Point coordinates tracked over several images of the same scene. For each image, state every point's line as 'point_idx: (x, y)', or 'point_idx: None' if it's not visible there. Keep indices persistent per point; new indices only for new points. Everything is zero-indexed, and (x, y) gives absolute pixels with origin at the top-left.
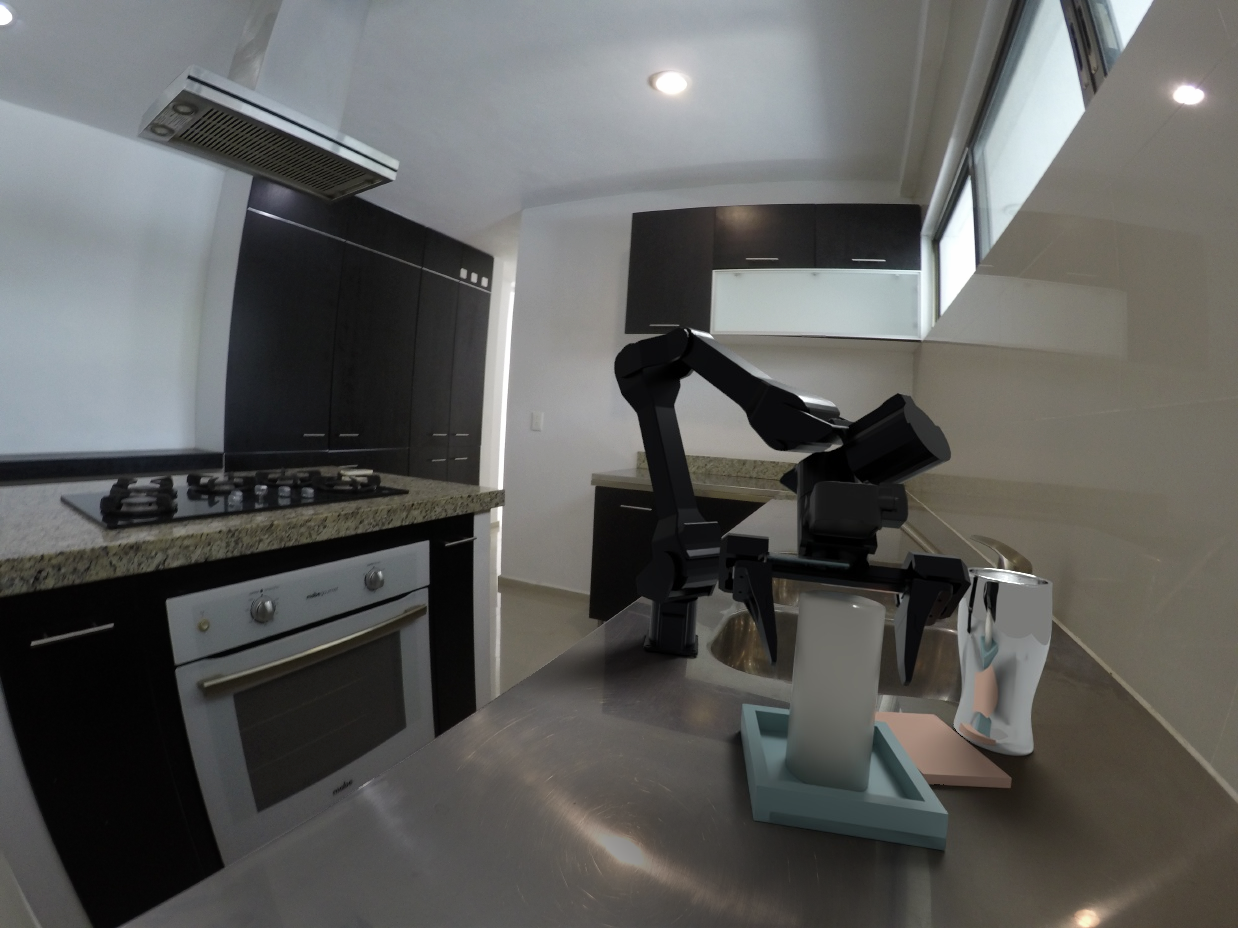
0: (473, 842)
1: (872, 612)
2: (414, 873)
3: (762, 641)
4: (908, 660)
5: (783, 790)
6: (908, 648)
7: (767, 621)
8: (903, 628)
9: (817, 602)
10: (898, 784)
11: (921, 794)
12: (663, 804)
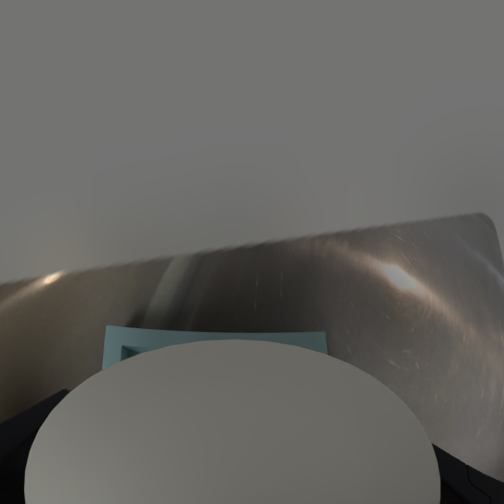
0: (461, 262)
1: (110, 388)
2: (464, 238)
3: None
4: (46, 409)
5: (294, 332)
6: (28, 428)
7: (445, 460)
8: (7, 492)
9: (389, 456)
10: None
11: (119, 360)
12: (389, 337)
